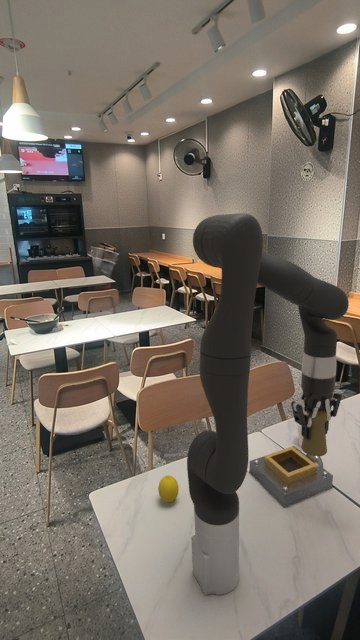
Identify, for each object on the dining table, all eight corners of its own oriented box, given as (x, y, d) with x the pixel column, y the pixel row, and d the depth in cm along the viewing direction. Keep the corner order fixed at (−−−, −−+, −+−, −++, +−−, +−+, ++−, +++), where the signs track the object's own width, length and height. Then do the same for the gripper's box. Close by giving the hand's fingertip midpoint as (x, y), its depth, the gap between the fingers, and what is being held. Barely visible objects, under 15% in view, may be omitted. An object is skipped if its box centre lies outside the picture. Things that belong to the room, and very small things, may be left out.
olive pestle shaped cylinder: (329, 457, 88) (331, 416, 85) (302, 455, 89) (304, 414, 86) (324, 443, 93) (327, 403, 91) (300, 441, 95) (301, 402, 92)
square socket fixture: (284, 507, 97) (284, 486, 96) (249, 472, 112) (249, 453, 110) (336, 485, 105) (337, 466, 103) (297, 455, 119) (298, 437, 117)
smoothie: (319, 448, 122) (321, 410, 119) (303, 453, 120) (305, 414, 116) (306, 438, 128) (308, 402, 124) (291, 443, 126) (292, 406, 122)
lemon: (166, 491, 105) (164, 467, 103) (182, 498, 102) (181, 473, 100) (155, 504, 100) (153, 479, 98) (172, 511, 98) (170, 485, 96)
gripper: (305, 382, 80) (302, 451, 84) (354, 370, 85) (348, 435, 90) (283, 371, 87) (281, 435, 91) (329, 360, 92) (325, 421, 96)
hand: (314, 435), depth 90 cm, fingers closed on olive pestle shaped cylinder, 4 cm apart
